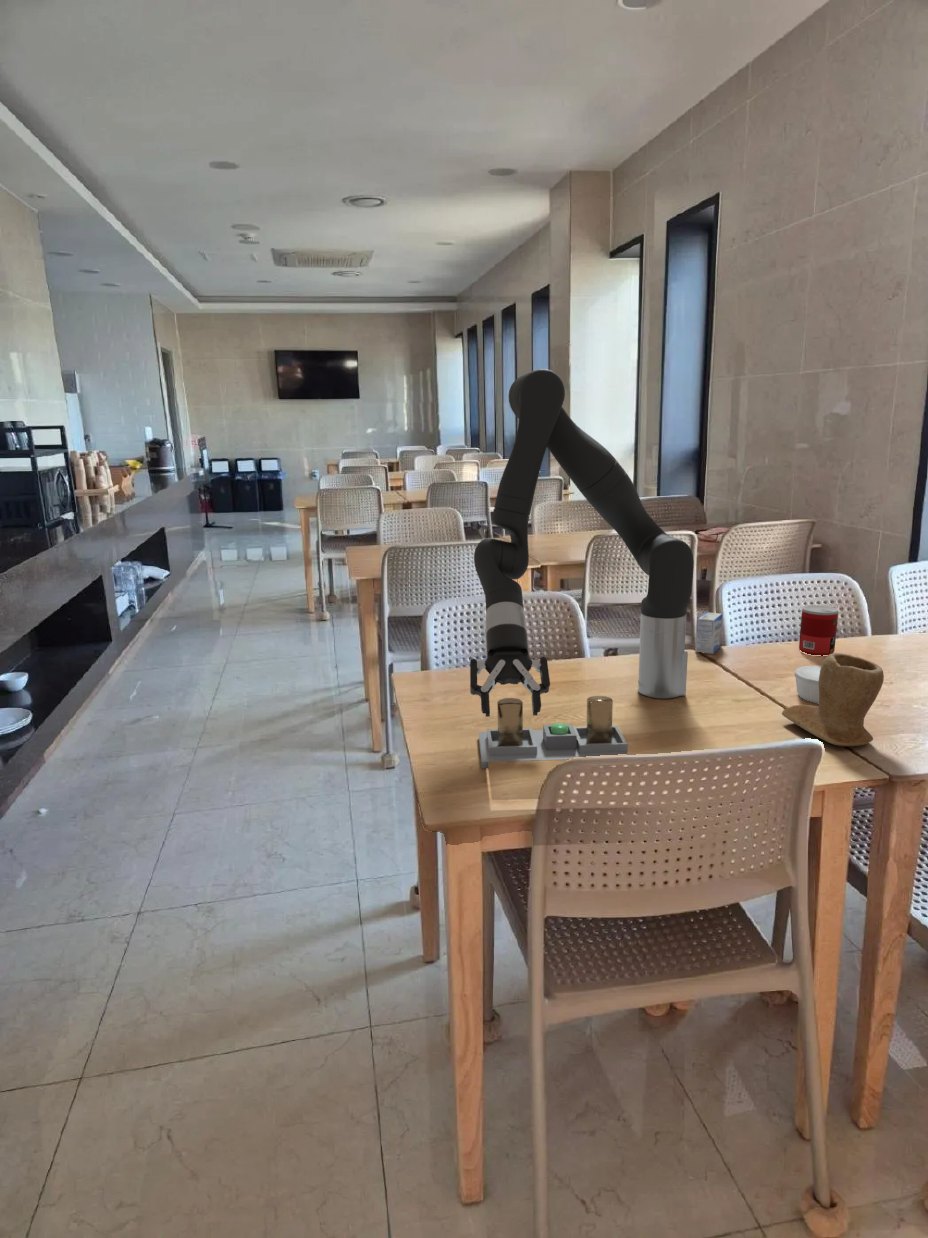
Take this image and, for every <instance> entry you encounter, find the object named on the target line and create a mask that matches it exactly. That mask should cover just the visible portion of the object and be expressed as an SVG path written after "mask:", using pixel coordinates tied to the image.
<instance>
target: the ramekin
mask: <svg viewBox="0 0 928 1238" xmlns="http://www.w3.org/2000/svg"><path fill="white" fill-rule="evenodd" d="M820 669H821V665H805V666H804V665H803V666H800V667H798V668H796V670H795V671H794V678H795V684H796V685H795V686H796V692H797V694H798V696H799V697H800V698H801V699H802V698H803V700H804V699H805V700H804V701H806V700H807V702H809V701H810V703H812V702H814V703H813V704H817V703H819V675H820Z"/></svg>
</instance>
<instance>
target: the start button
mask: <svg viewBox="0 0 928 1238" xmlns="http://www.w3.org/2000/svg"><path fill="white" fill-rule="evenodd" d="M550 725H551V734H568V725H566V723H563V722H561V723H560V722H558V723H557V722H556V723H553V724H550Z"/></svg>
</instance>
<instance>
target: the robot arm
mask: <svg viewBox="0 0 928 1238" xmlns="http://www.w3.org/2000/svg"><path fill="white" fill-rule="evenodd" d="M508 390H509V392H508V403H509V407H510V409H511V411H512V412H513V415H515V417H516V418H517V419H518V425H517V432H516V435H515V440H514V444H513V447H512V450H511V453H510V455H509V458H508V461H507V463H506V465H505V468H504V469H503V472H502V476H501V478H500V482H499V485H498V488H497V493H496V498H495V502H494V508H493V510H492V511H493V512H492V516H491V517H492V518H491V521H492V523H493V524H494V525H495V526H496V527H498V528H500V529H503V530H505V531H507V532H508V534H509V536H510V541H507V540H506V541H505V540H500V539H495V538H489V537H488V538H484V539H482V540H481V541H480V542H478V544H477V545H476V547H475V549H474V553H473V564H474V568H475V571H476V574H477V577H478V579H479V582H480V585H481V587H482V590H483V593H484V598H485V599H484V600H485V625H484V626H485V631H484V633H485V640H486V641H485V643H486V660H485V661H479V660H477V659H475V658H472V659H470V661H469V663H470V664H469V672H470V673H469V679H470V680H469V682H470V683H469V684H470V685H469V687H470V694H471V695H473V696H475V695H476V696H479V697H480V705H481V706H480V708H481V709H480V710H481V713H482V714H484V715H485V718H486V717H489V718H490V715H491V706H490V705H491V704H490V693H491V692H492V690H493V689H495V687H496V686H497V684H500V685H501V686H502V685H503V686H504V685H508V684H511V685H519V684H521V685H522V687H524V688H525V689H527V690H528V691H529V692H530V693H531V697H530V698H531V706H532V715H533V716H538V713H540V712H541V709H542V699H541V697H542V696H541V695H542V694H548V693H549V691H550V686H551V680H550V679H551V678H550V674H549V667H548V666H549V665H548V659H547V657H545V656H542V657H540V659H531V658H530V655H529V642H528V630H527V621H526V619H527V618H526V615H525V611H524V599H523V590H522V587H521V585H520V583H519V582H517V581H516V580H519V579H521V578H522V577H523V576H524V574H526V571H527V570H528V567H529V564H530V563H529V561H530V560H529V558H530V552H529V538H528V537H529V520H530V514H531V511H532V506H533V501H534V497H535V493H536V488H537V484H538V478H539V475H540V472H541V467H542V463H543V461H544V457H545V453H546V450H549V452H550V453H551V454H552V456H553V457H554V459H555V460H556V461H557V463H558V465H559V466H560V468H561V469H562V470H563V471H564V472H565V474H566V475H567V476H568V478H569V479H570V480H571V481H572V483H573V484H574V486H575V487H576V488H577V489H578V490H579V493H581V495H582V496H583V497H584V498H585V500H587V502H588V503H589V504H590V505H591V507H592V508H593V509H594V510H595V511H596V512H597V513H598V514H599V516H600V517H602V519H603V520H604V521H605V522H607V523H606V524H608V526H610V527H611V528H612V529H613V530H614V531H615V533H617V535H618V536H619V537H620V538H621V540H622V541H623V543H624V544H625V545H626V547H627V549H628V550H629V551H630V553H631V555H632V556H633V558H634V560H635V562H636V563H637V564H638V566H639V568H640V569H641V571H642V572H643V573H645V575H647V576H648V582H647V583H648V586H647V594H646V596H645V597H644V598H642V600H641V602H640V624H639V626H640V628H639V629H640V630H639V652H638V653H639V654H638V655H639V656H638V680H637V683H638V684H637V685H638V686H637V687H638V689H637V690H638V691H637V692H639V693H640V694H641V695H643V696H645V697H648V698H654V699H675V698H678V697H681V696H686V695H687V678H688V677H687V675H688V655H689V653H688V650H687V649H686V636H687V635H686V633H687V631H686V630H687V615H688V614H687V613H688V611H687V610H688V605H690V601H691V598H692V591H693V581H694V566H695V560H694V553H693V550H692V548H691V546H690V545H689V544H688V543H687V542H686V541H684V540H681V539H680V538H676V537H674V536H670V535H669V534H668V533H667V532H666V531H664V530H663V529H662V528H661V526H659V525H658V524H657V522H655V520H654V519H653V518H652V517H651V516H650V514H649V513H648V512H647V510H646V509H645V507H644V505H643V503H642V501H641V498H640V496H639V493H638V491H637V489H636V486H635V485H634V483H633V481H632V479H631V477H630V476H629V474H628V473H627V472H626V470H625V469H624V468H623V466H622V465H621V464H620V463H619V461H618V460H617V459H616V458H615V456H613V454H612V453H611V452H610V451H609V450H608V449H607V448H606V447H604V446H603V444H601V443H600V442H599V441H597V440H596V439H595V438H593V437H592V436H591V435H589V433H587V432H585V431H584V430H583V429H581V428H580V427H579V426H578V425H577V424H576V422H574V421H573V419H572V418H571V416H569V415H568V412H566V410H565V409H564V407H563V405H564V401H565V397H566V391H565V386H564V382H563V381H562V379H561V377H560V376H559V375H558V374H557V373H556V372H555V371H553V370H551V369H546V368H539V369H535V370H531V371H530V372H527V373H524V374H522V375H521V376H519V377H517V378H516V379H515V380H514V381H512V383H511V385H510V388H509V389H508ZM532 668H534V669H535V671H536V672H538V673H539V675H540V682H541V683H539V684H538V682H537V681H536V680H535V679H534V677H533V675H532V673H530V671H531V669H532ZM484 669H485V671H486V672H487V673H488V674H489V675H488V676H487V678H486V680H485V682H484V683H483V684H482V685H479V684H478V675H480V674H481V673H482V671H483V670H484Z"/></svg>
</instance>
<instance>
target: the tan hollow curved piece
mask: <svg viewBox="0 0 928 1238" xmlns="http://www.w3.org/2000/svg"><path fill="white" fill-rule="evenodd" d="M820 666H821V669H820V675H819V704H818V706H815V705H811V704H797V705H796V704H795V705H792V706H789V707H786V708H785V709H783V710H782V712H781V715H782V716H783V717H784V718H786V719H787V720H789V721H790V722H792V723H793V724H795V725H797V726H798V727H800V728H802V729H803V730H805V731H806V732H808V733H809V734H811V735H814V736H815V737H817V738H818V739H821V740H823V741H824V742H826V743H829V744H832V745H834V746H839V747H858V746H859V747H860V746H864V745H867V744H869V743H872V742H873V740H874V737H873V735H871V733H870V732H869V731H868V730H867V728H865V726H864V723H865V717H866V716H867V714H868V712H869V710H870V708H872V706H873V704H874V703H875V701H876V699H877V697H878V695H879V694H880V691H881V689H882V687H883V683H884V677H885V676H884V670H883V668H882V667H881V666H880V665H879V664H877V663H876V662H873V661H870V660H867V659H864V658H861V657H859V656H854V655H851V654H847V653H840V652H834V653H832V654H830V655H828V656H825V657H824V659H823V661H822V663H821V665H820Z"/></svg>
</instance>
